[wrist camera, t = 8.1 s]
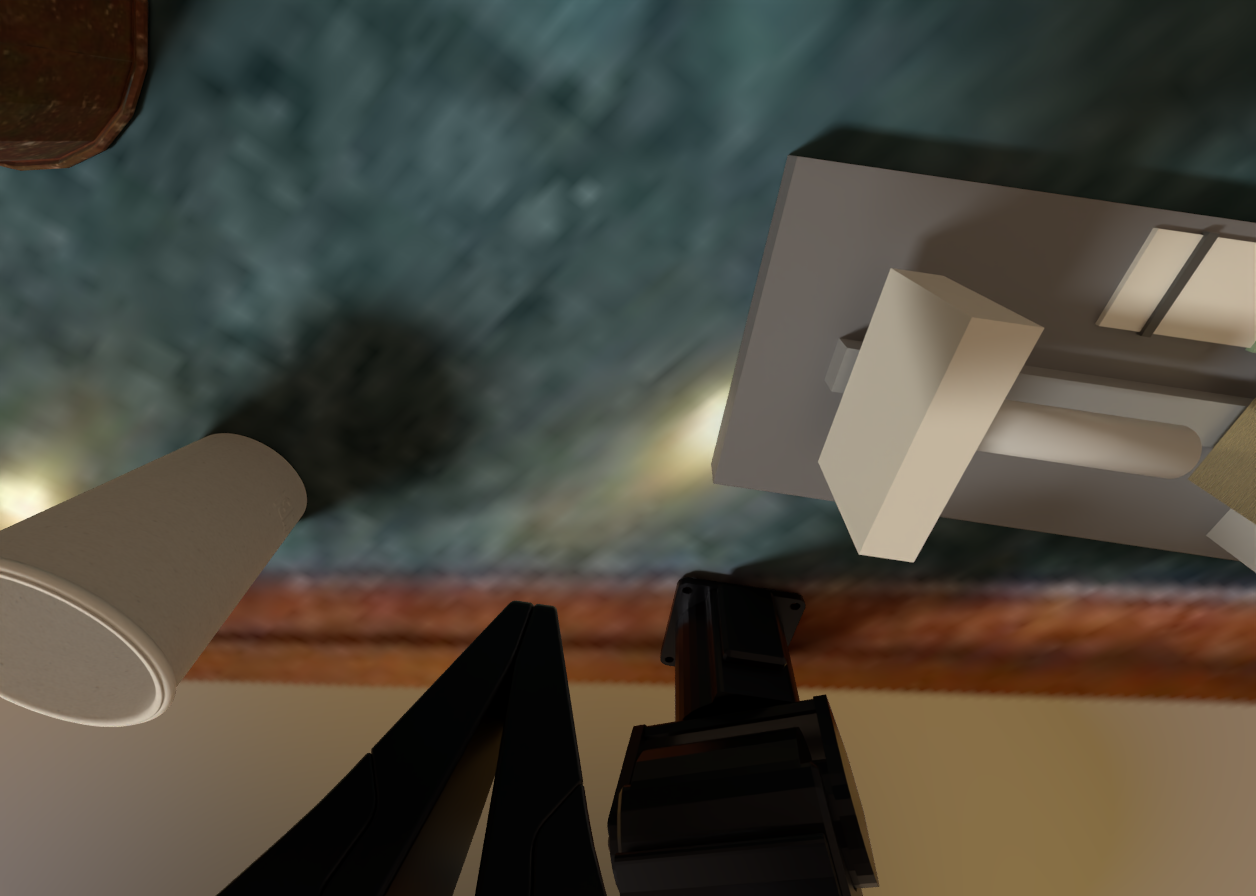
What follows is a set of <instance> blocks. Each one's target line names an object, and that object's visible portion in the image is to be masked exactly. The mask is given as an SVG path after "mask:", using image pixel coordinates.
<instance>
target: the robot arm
mask: <svg viewBox="0 0 1256 896" xmlns="http://www.w3.org/2000/svg"><path fill="white" fill-rule="evenodd" d="M684 587H690V588H684ZM793 603H796V604H793ZM804 609H805V602H804V599H803V597H802V596H801V595H799V594H796V593H789V592H782V591H776V590H769V589H762V588H755V587H749V586H742V585H735V584H728V583H722V582H715V581H708V580H701V579H695V578H682V579H680V580H679V581H678V583H677V587H676V591H675V595H674V599H673V604H672V608H671V612H670V616H669V620H668V624H667V628H666V632H665V637H664V641H663V645H662V649H661V662H662V663H663V664H665V665H669V666H675V722H670V723H664V724H657V725H652V726H646V725H638V726H634V727H633V730H632V733H631V737H630V741H629V744H628V747H627V751H626V755H625V758H624V762H623V766H622V770H621V774H620V777H619V781H618V784H617V788H616V792H615V795H614V799H613V803H612V807H611V811H610V814H609V818H608V833H609V838H608V847H609V850H610V856H611V863H612V869H613V874H614V878H615V881H616V885H617V887H618V890H619V892H620V896H863V894H862V890H861V888H868V887H879V882H878V877H877V872H876V867H875V863H874V858H873V853H872V848H871V844H870V839H869V834H868V830H867V825H866V821H865V815H864V811H863V808H862V804H861V801H860V797H859V794H858V790H857V787H856V783H855V780H854V776H853V773H852V770H851V766H850V763H849V759H848V756H847V753H846V750H845V747H844V744H843V742H842V739H841V736H840V733H839V730H838V727H837V724H836V722H835V719H834V716H833V713H832V710H831V707H830V705H829V702H828V699H827V696H826V695H820V696H814V697H813V699H811V700H804V701H800V700H799V696H798V691H797V687H796V682H795V677H794V673H793V668H792V664H791V659H790V655H789V650H788V646H789V644H790V641H791V639H792V637H793V634H794V632H795V630H796V627H797V625H798V623H799V621H800V618H801V616H802V614H803V611H804ZM494 776H495V779H494ZM493 779H494V785H493V791H492V797H491V803H490V809H489V815H488V821H487V827H486V833H485V839H484V844H483V850H482V857H481V862H480V868H479V874H478V880H477V886H476V893H475V896H607V894H606V891H605V887H604V883H603V879H602V875H601V871H600V867H599V863H598V859H597V855H596V851H595V847H594V842H593V836H592V832H591V826H590V821H589V815H588V810H587V802H586V796H585V790H584V786H583V779H582V771H581V765H580V758H579V752H578V745H577V739H576V733H575V726H574V719H573V713H572V706H571V700H570V693H569V687H568V680H567V673H566V667H565V660H564V654H563V647H562V641H561V634H560V628H559V621H558V615H557V609H556V608H555V607H554V606H549V605H542V604H536V605H535V606H534V605H533V604H532V603H529V602H522V601H512V602H511V603H509V604H508V605H507V607H506V608H505V609H504V610H503V611H502V612H501V613H500V614H499V615H498V616H497V617H496V618H495V619H494V620H493V621H492V622H491V623H490V624H489V626H488V627H487V628H486V629H485V630H484V631H483V632H482V633H481V634H480V635H479V636H478V637H477V638H476V639H475V640H474V641H473V642H472V643H471V644H470V646H469V647H468V648H467V649H466V650H465V651H464V652H463V653H462V654H461V655H460V656H459V657H458V658H457V659H456V660H455V661H454V662H453V663H452V665H451V666H450V667H449V668H448V669H447V670H446V671H445V672H444V673H443V674H442V675H441V676H440V677H439V678H438V679H437V680H436V681H435V682H434V684H433V685H432V686H431V687H430V688H429V689H428V690H427V691H426V692H425V693H424V694H423V695H422V696H421V697H420V698H419V699H418V700H417V702H415V704H414V705H413V706H412V707H411V708H410V709H409V710H408V711H407V712H406V713H405V714H404V715H403V716H402V717H401V718H400V719H399V721H397V723H396V724H395V725H394V726H393V727H392V728H391V729H390V730H389V731H388V732H387V733H386V734H385V735H384V736H383V737H382V738H381V739H380V741H379V742H378V743H377V744H376V745H375V746H374V747H373V748H372V749H371V753H367V754H366V755H365V756H364V757H363V758H362V759H361V760H360V761H359V762H358V763H357V764H356V766H355V767H354V768H353V769H352V770H351V771H350V772H349V773H348V774H347V775H346V776H345V777H344V778H343V779H342V780H341V781H340V782H339V783H338V784H337V785H336V786H335V787H334V788H333V789H332V790H331V791H330V792H329V793H328V794H327V795H326V796H325V797H324V798H323V799H322V800H321V801H320V802H319V803H318V804H317V805H316V806H315V807H314V808H313V809H312V810H311V811H309V812H308V814H306V815H305V816H304V817H303V818H302V819H301V820H300V821H299V822H298V823H296V825H294V826H293V827H292V828H291V829H290V830H289V831H288V832H287V833H286V834H285V835H284V836H282V837H281V838H280V839H279V840H278V841H277V842H276V843H274V844H273V845H272V846H271V847H270V848H269V849H268V850H267V851H266V852H264V853H263V854H262V855H261V856H260V857H259V858H258V859H257V860H255V861H254V862H253V863H252V864H251V865H250V866H249V867H247V868H246V869H245V870H244V871H243V872H242V873H241V874H240V875H238V876H237V877H236V878H235V879H234V880H233V881H232V882H231V883H230V884H228V885H227V886H226V887H225V888H224V889H223V890H221V891H220V892H219V893H218V894H217V895H216V896H453V893H454V890H455V887H456V884H457V881H458V878H459V875H460V873H461V870H462V867H463V864H464V862H465V859H466V856H467V853H468V850H469V847H470V845H471V842H472V839H473V836H474V833H475V830H476V828H477V825H478V822H479V819H480V816H481V813H482V810H483V808H484V805H485V802H486V799H487V796H488V793H489V791H490V788H491V785H492V782H493Z"/></svg>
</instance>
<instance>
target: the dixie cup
mask: <svg viewBox="0 0 1256 896" xmlns="http://www.w3.org/2000/svg"><path fill="white" fill-rule="evenodd" d="M306 506H307V495H306V490H305V487H304V484H303V482H302V480H301V478H300V477H299V475H298V474H297V472H296V471H295V470H294V468H293V467H292V466H291V465H290V464H289V463H288V462H287V461H286V460H285V459H284V458H283V457H282V456H281V455H279V454H278V453H277V452H276V451H274V450H273V449H271V448H270V447H268V446H266V445H264V444H263V443H261V442H258V441H256V440H254V439H251V438H248V437H245V436H242V435H237V434H230V433H219V434H213V435H209V436H207V437H204V438H202V439H200V440H198V441H196V442H194V443H191V444H189V445H187V446H185V447H183V448H180V449H178V450H176V451H174V452H172V453H169V454H167V455H165V456H163V457H161V458H159V459H156V460H154V461H152V462H150V463H148V464H145V465H143V466H141V467H139V468H137V469H134V470H132V471H130V472H128V473H126V474H124V475H121V476H119V477H117V478H115V479H113V480H110V481H108V482H106V483H104V484H102V485H99V486H97V487H95V488H93V489H91V490H89V491H86V492H84V493H82V494H80V495H78V496H75V497H73V498H71V499H69V500H67V501H64V502H62V503H60V504H58V505H56V506H54V507H51V508H49V509H47V510H45V511H43V512H40V513H38V514H36V515H34V516H32V517H30V518H27V519H25V520H23V521H21V522H19V523H16V524H14V525H12V526H10V527H8V528H5V529H3V530H1V531H0V697H1V698H3V699H5V700H8V701H10V702H12V703H14V704H17V705H19V706H22V707H24V708H27V709H29V710H32V711H35V712H38V713H41V714H44V715H47V716H50V717H54V718H57V719H61V720H65V721H69V722H74V723H79V724H84V725H92V726H102V727H120V726H129V725H134V724H139V723H143V722H147V721H149V720H152V719H154V718H156V717H158V716H159V715H161V714H162V713H164V712H165V711H166V710H167V709H168V708H169V706H170V705H171V704H172V702H173V700H174V697H175V694H176V687H177V686H178V684H179V683H180V682H181V680H182V679H183V677H184V676H185V675H186V673H187V672H188V671H189V669H190V668H191V667H192V665H193V664H194V663H195V661H196V660H197V658H198V657H199V656H200V654H201V653H202V652H203V650H204V649H205V648H206V646H207V645H208V643H209V642H210V641H211V639H212V638H213V637H214V635H215V634H216V633H217V631H218V630H219V628H220V627H221V626H222V624H223V623H224V622H225V620H226V619H227V618H228V616H229V615H230V613H231V612H232V611H233V609H234V608H235V607H236V605H237V604H238V603H239V601H240V600H241V598H242V597H243V596H244V594H245V593H246V592H247V590H248V589H249V588H250V586H251V585H252V583H253V582H254V581H255V579H256V578H257V577H258V575H259V574H260V573H261V571H262V570H263V568H264V567H265V566H266V564H267V563H268V562H269V560H270V559H271V558H272V556H273V555H274V553H275V552H276V551H277V549H278V548H279V547H280V545H281V544H282V543H283V541H284V540H285V538H286V537H287V536H288V534H289V533H290V532H291V530H292V529H293V528H294V526H295V525H296V524H297V522H298V521H299V519H300V518H301V517H302V515H303V514H304V512H305V509H306Z"/></svg>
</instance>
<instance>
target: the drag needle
mask: <svg viewBox="0 0 1256 896" xmlns="http://www.w3.org/2000/svg"><path fill="white" fill-rule="evenodd" d="M1188 480H1189V481H1191V482H1192V483H1194V484H1195V485H1197V486H1198V487H1200V488H1201V489H1203V490H1204V491H1206V492H1207V493H1209V494H1210V495H1212V496H1213V497H1215V498H1216V499H1218V500H1219V501H1221V502H1222V503H1224V504H1225V505H1227V506H1228V507H1230V508H1231V509H1233V510H1234V511H1236V512H1237V513H1239V514H1240V515H1242V516H1243V517H1245V518H1246V519H1248V520H1249V521H1251V522H1252V523H1254V524H1255V525H1256V398H1255V399H1254V400H1253V401H1252V402H1251V404H1250V405H1249V406H1248V407H1247V408H1246V410H1245V411H1244V412H1243V413H1242V414H1241V415H1240V417H1239V418H1238V419H1237V420H1236V421H1235V423H1234V424H1233V425H1232V426H1231V427H1230V429H1229V430H1228V431H1227V432H1226V433H1225V435H1224V436H1223V437H1222V438H1221V439H1220V441H1219V442H1218V443H1217V444H1216V445H1215V447H1214V448H1213V449H1212V450H1211V451H1210V453H1209V454H1208V455H1207V456H1206V457H1205V459H1204V460H1203V461H1202V462H1201V463H1200V465H1199V466H1198V467H1197V468H1196V469H1195V471H1194V472H1193V473H1192V474H1191V475H1190V477H1189V478H1188Z"/></svg>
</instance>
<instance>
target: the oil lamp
mask: <svg viewBox="0 0 1256 896" xmlns="http://www.w3.org/2000/svg"><path fill="white" fill-rule="evenodd" d="M147 69H148V0H0V166H3V167H7V168H12V169H16V170H20V171H22V170H40V169H57V168H70V167H72V166H74V165H76V164H78V163H80V162H82V161H84V160H86V159H88V158H90V157H92V156H94V155H97V154H99V153H101V152H103V151H105V150H106V149H107V148H108V147H109V145H110V144H111V143H112V142H113V140H114V139H115V138H116V137H117V135H118V134H119V133H120V132H121V130H122V129H123V128H124V127H125V125H126V124H127V123H128V122H129V121H130V119H131V118H132V117H133V115H134V112H135V108H136V105H137V102H138V98H139V95H140V92H141V88H142V85H143V82H144V78H145V75H146V72H147Z"/></svg>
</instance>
